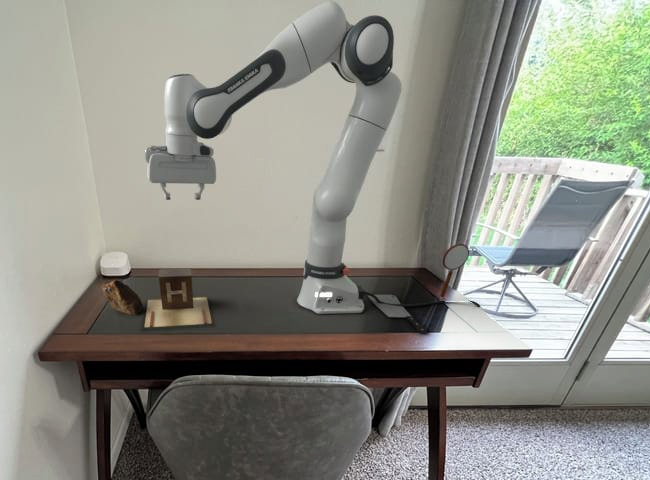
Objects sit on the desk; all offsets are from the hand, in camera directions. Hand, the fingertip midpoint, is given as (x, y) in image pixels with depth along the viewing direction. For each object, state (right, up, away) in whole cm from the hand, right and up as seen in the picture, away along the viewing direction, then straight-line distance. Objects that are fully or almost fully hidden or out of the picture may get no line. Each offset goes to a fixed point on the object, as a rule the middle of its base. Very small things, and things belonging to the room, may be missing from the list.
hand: (182, 199), depth 108 cm
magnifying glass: (+89, -28, +18) cm, 95 cm away
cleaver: (+69, -34, +9) cm, 77 cm away
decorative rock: (-20, -34, +6) cm, 40 cm away
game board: (-2, -34, +6) cm, 35 cm away
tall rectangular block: (-3, -31, +10) cm, 32 cm away
